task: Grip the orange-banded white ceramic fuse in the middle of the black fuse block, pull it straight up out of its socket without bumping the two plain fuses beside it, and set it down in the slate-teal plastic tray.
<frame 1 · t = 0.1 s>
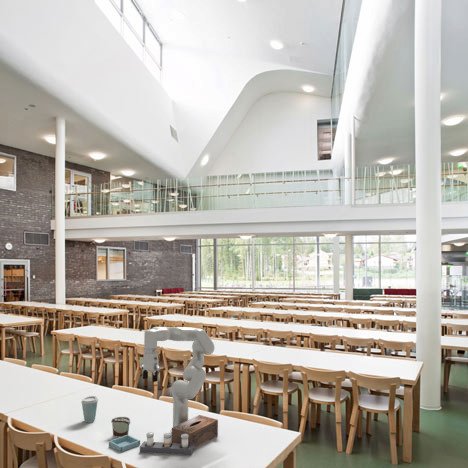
hand: (150, 380, 250), 37 cm above the table, tool pointing down, fingers open, 9 cm apart
food container: (122, 435, 261), on the table
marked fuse: (167, 450, 236), point 1 cm above the table, touching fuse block
tissue box cover: (195, 441, 253), on the table
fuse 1: (149, 450, 237), point 1 cm above the table, touching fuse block
disposable coffee cup: (89, 421, 284), on the table
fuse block: (167, 452, 236), on the table
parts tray: (124, 447, 244), on the table
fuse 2: (184, 451, 235), point 1 cm above the table, touching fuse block
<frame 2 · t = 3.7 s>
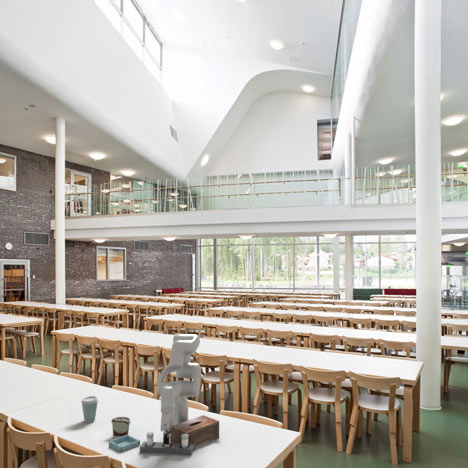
hand: (167, 442, 237), 6 cm above the table, tool pointing down, fingers closed on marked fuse, 4 cm apart
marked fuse: (167, 450, 236), point 1 cm above the table, touching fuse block, gripper
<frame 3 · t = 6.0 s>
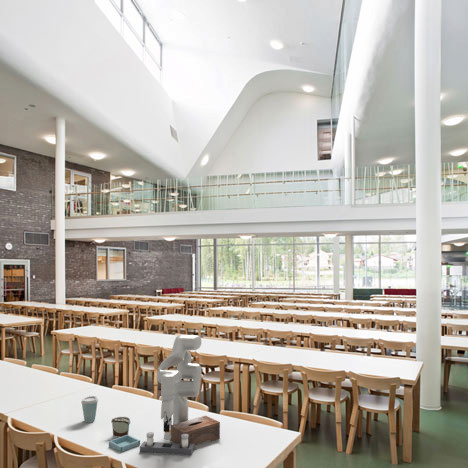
hand: (167, 429, 237), 12 cm above the table, tool pointing down, fingers closed on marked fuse, 4 cm apart
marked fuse: (167, 438, 237), point 8 cm above the table, touching gripper
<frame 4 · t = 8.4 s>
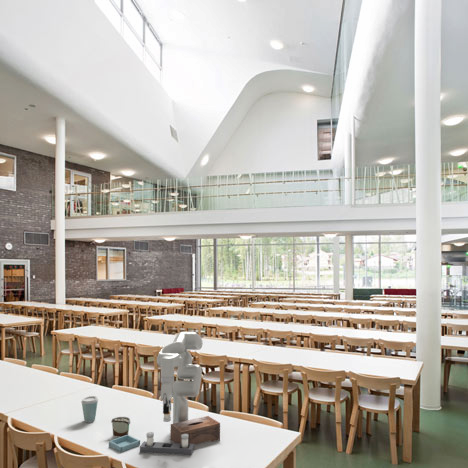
hand: (167, 411, 238), 22 cm above the table, tool pointing down, fingers closed on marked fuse, 4 cm apart
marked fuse: (167, 420, 238), point 17 cm above the table, touching gripper
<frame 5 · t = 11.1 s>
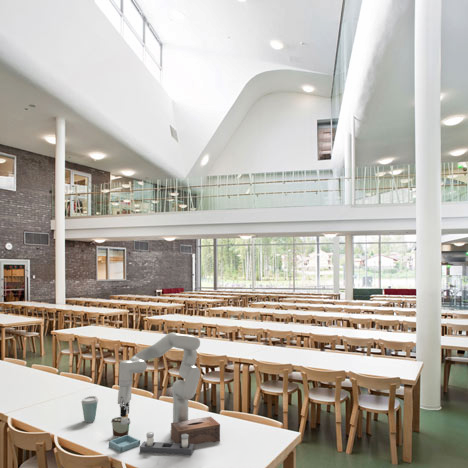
hand: (124, 414, 245), 18 cm above the table, tool pointing down, fingers closed on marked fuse, 4 cm apart
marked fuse: (124, 423, 244), point 13 cm above the table, touching gripper
when the fingers open (8 cm above the table, at t = 13.2 s): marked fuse drops 2 cm, resting on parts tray.
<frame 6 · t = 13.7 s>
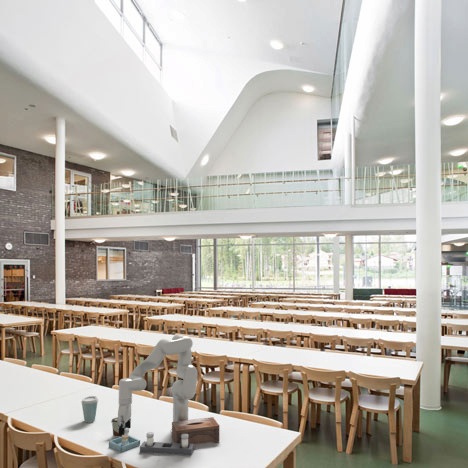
hand: (124, 431, 244), 9 cm above the table, tool pointing down, fingers open, 9 cm apart
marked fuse: (124, 445, 244), point 1 cm above the table, touching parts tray
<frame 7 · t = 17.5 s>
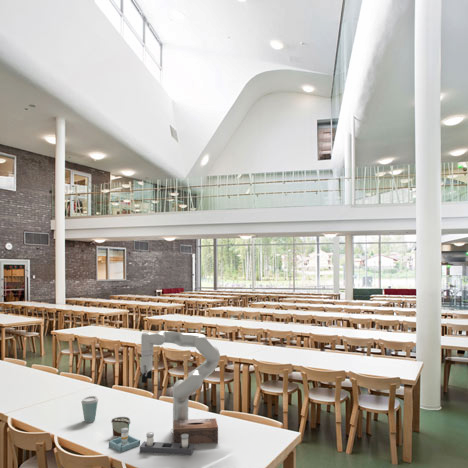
hand: (146, 380, 265), 32 cm above the table, tool pointing down, fingers open, 9 cm apart
at the end: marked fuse inside the target area on the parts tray (0.0 cm from its centre), point 1.0 cm above the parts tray's base; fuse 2 moved 0.0 cm from its start; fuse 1 moved 0.0 cm from its start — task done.
